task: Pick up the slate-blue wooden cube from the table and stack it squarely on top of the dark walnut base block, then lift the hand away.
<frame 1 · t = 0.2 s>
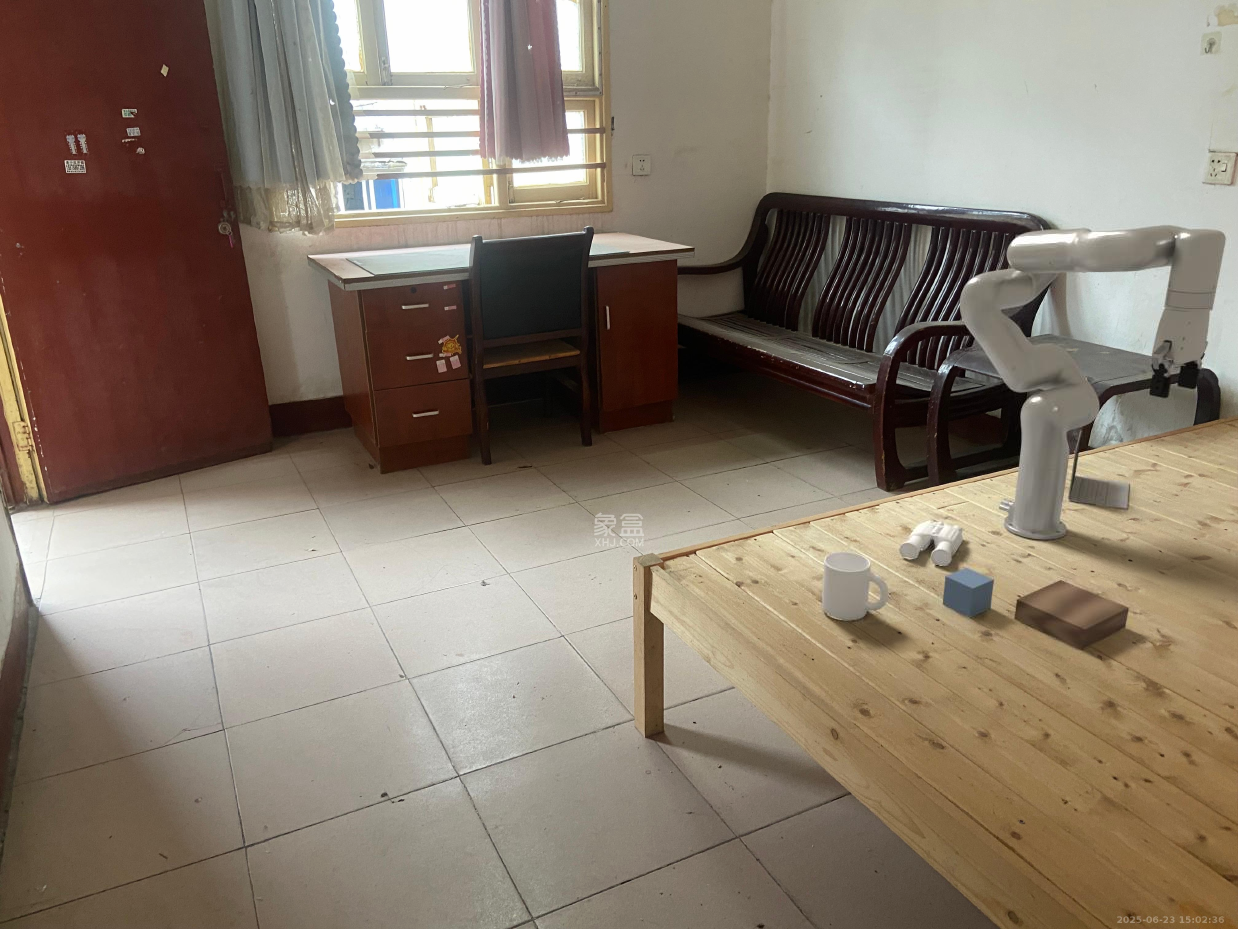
hand: (1172, 392, 169), 37 cm above the table, tool pointing down, fingers open, 9 cm apart
binoculars: (933, 551, 193), on the table
slate cube: (966, 606, 169), on the table
laptop: (1098, 494, 219), on the table
walnut base: (1069, 623, 162), on the table
mug: (853, 614, 168), on the table
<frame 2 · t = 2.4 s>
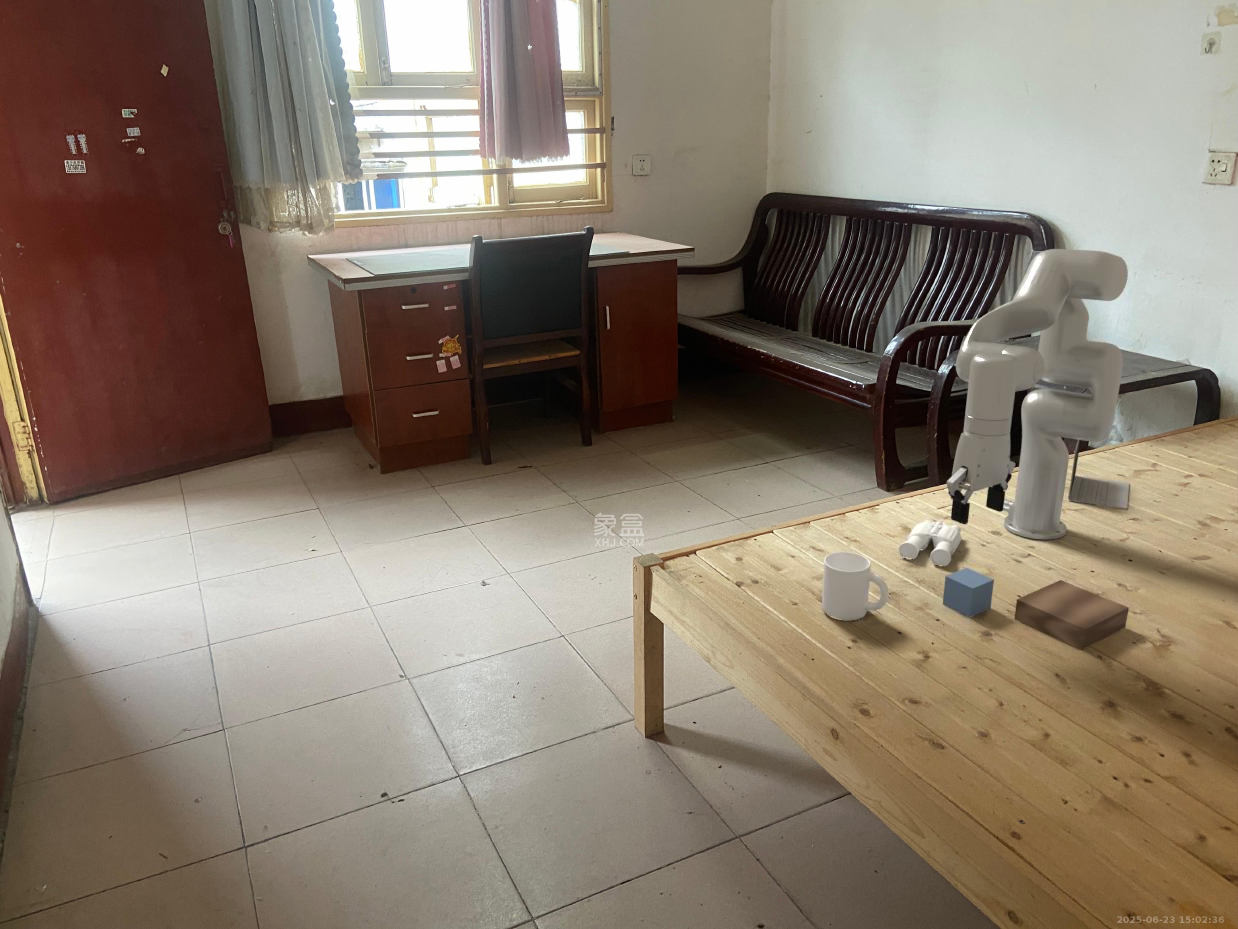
hand: (976, 515, 163), 18 cm above the table, tool pointing down, fingers open, 9 cm apart
nothing on the table moved.
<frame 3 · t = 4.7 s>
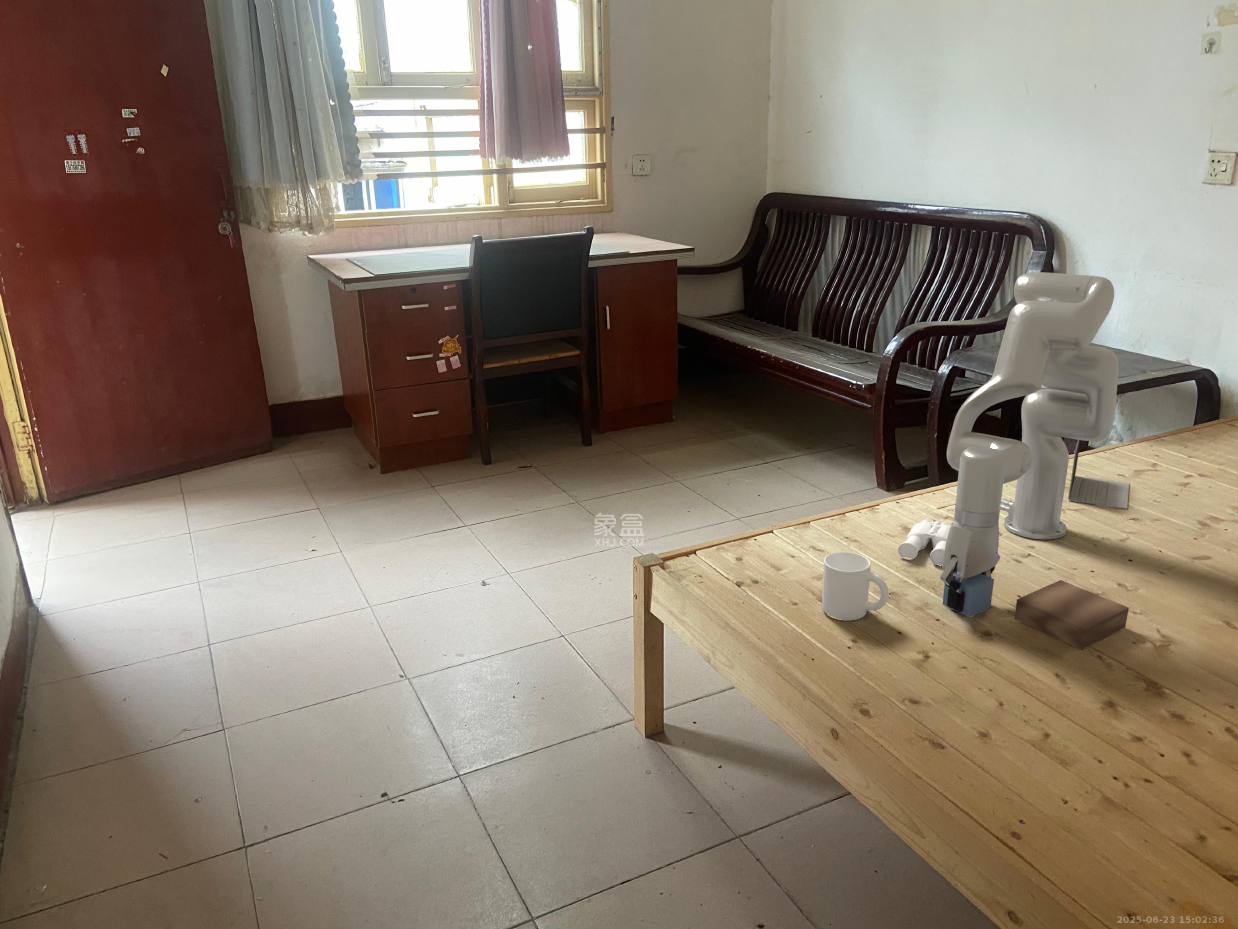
hand: (966, 602, 169), 1 cm above the table, tool pointing down, fingers closed on slate cube, 6 cm apart
slate cube: (966, 606, 169), on the table, touching gripper
everything else where it was.
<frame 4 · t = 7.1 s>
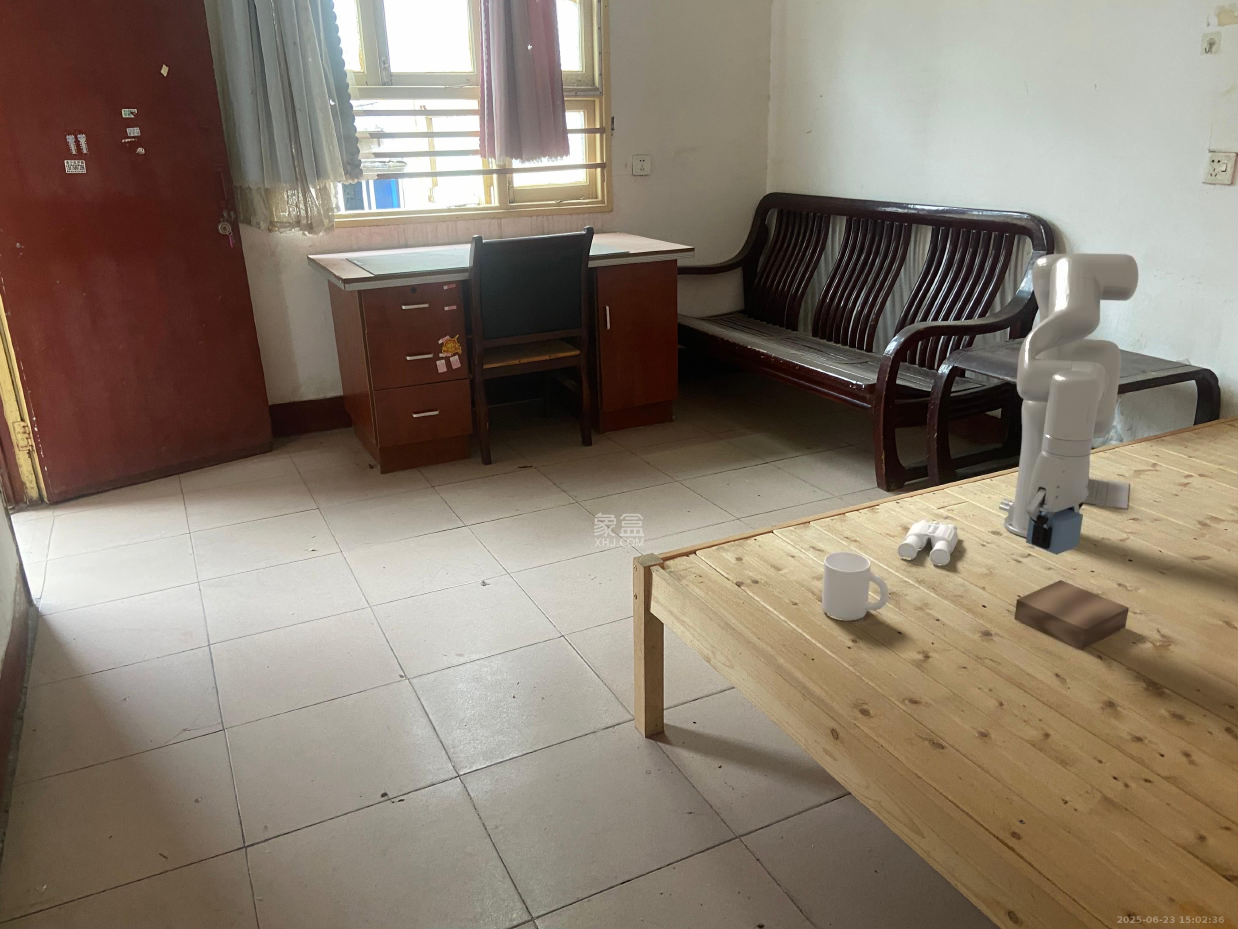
hand: (1052, 540, 159), 15 cm above the table, tool pointing down, fingers closed on slate cube, 6 cm apart
slate cube: (1051, 544, 159), point 15 cm above the table, touching gripper
everything else where it was.
when the fingers open (6 cm above the table, at t = 9.7 s): slate cube drops 1 cm, resting on walnut base.
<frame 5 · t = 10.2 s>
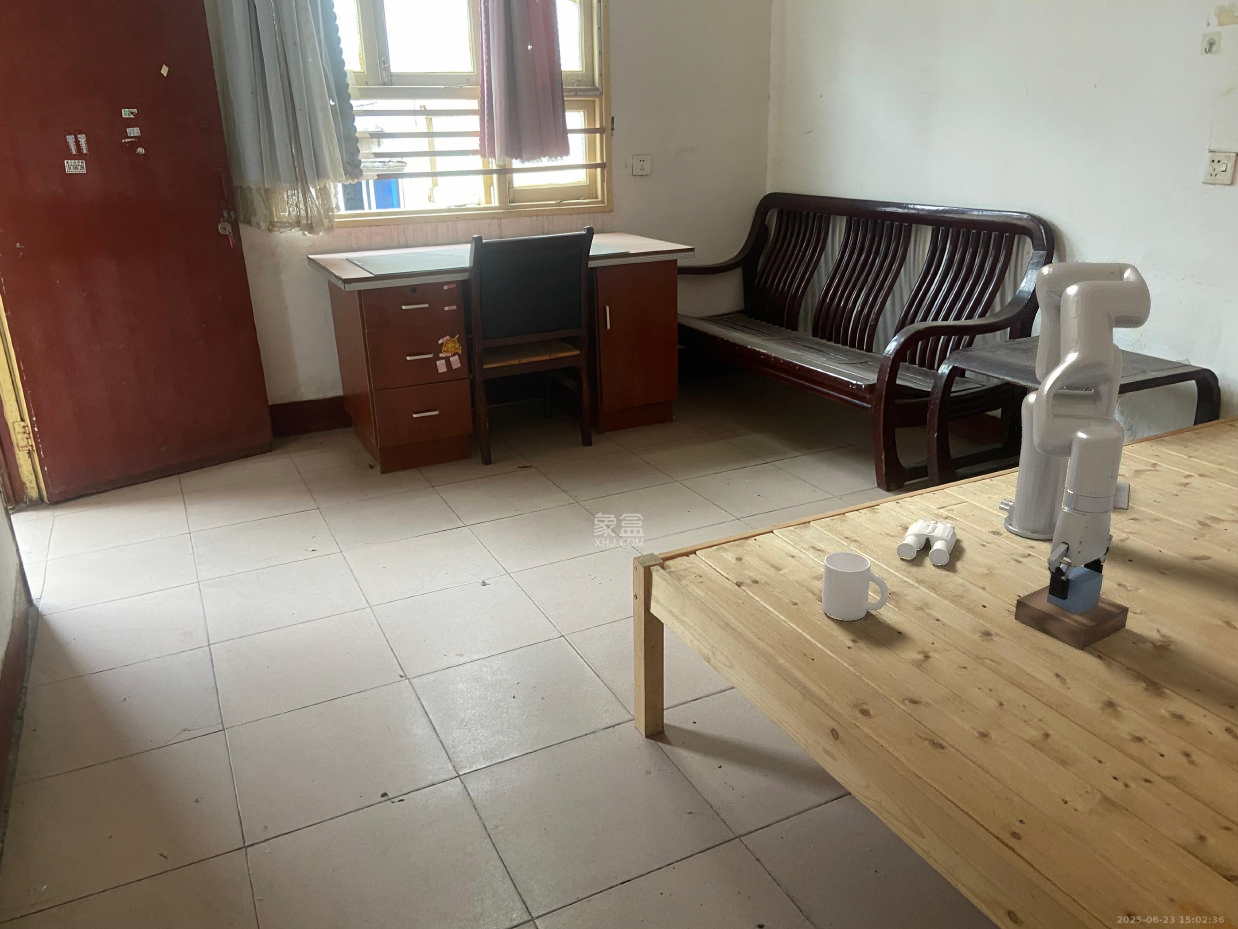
hand: (1074, 589, 160), 7 cm above the table, tool pointing down, fingers open, 9 cm apart
slate cube: (1072, 603, 161), point 4 cm above the table, touching walnut base
everything else where it was.
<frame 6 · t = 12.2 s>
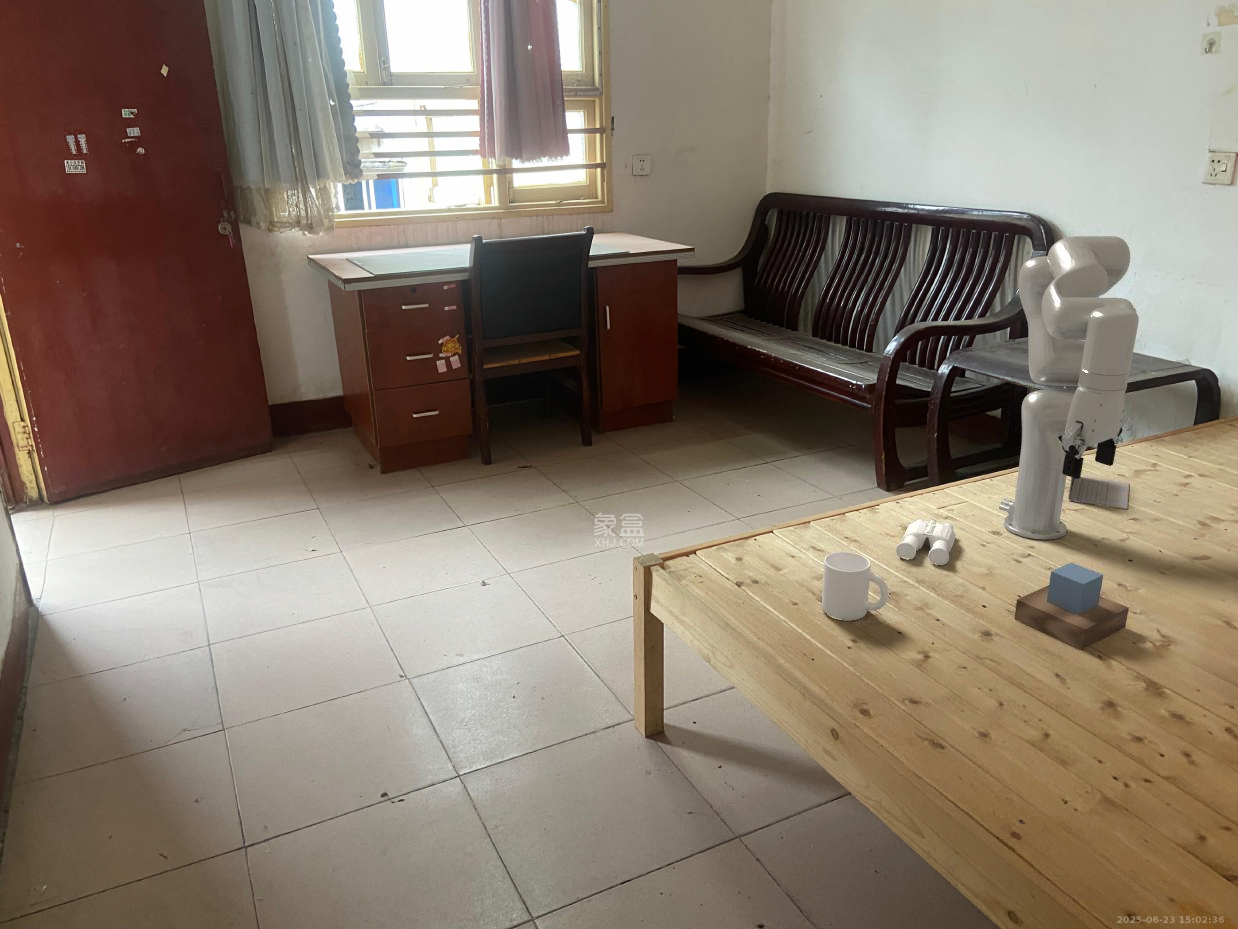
hand: (1087, 469, 164), 25 cm above the table, tool pointing down, fingers open, 9 cm apart
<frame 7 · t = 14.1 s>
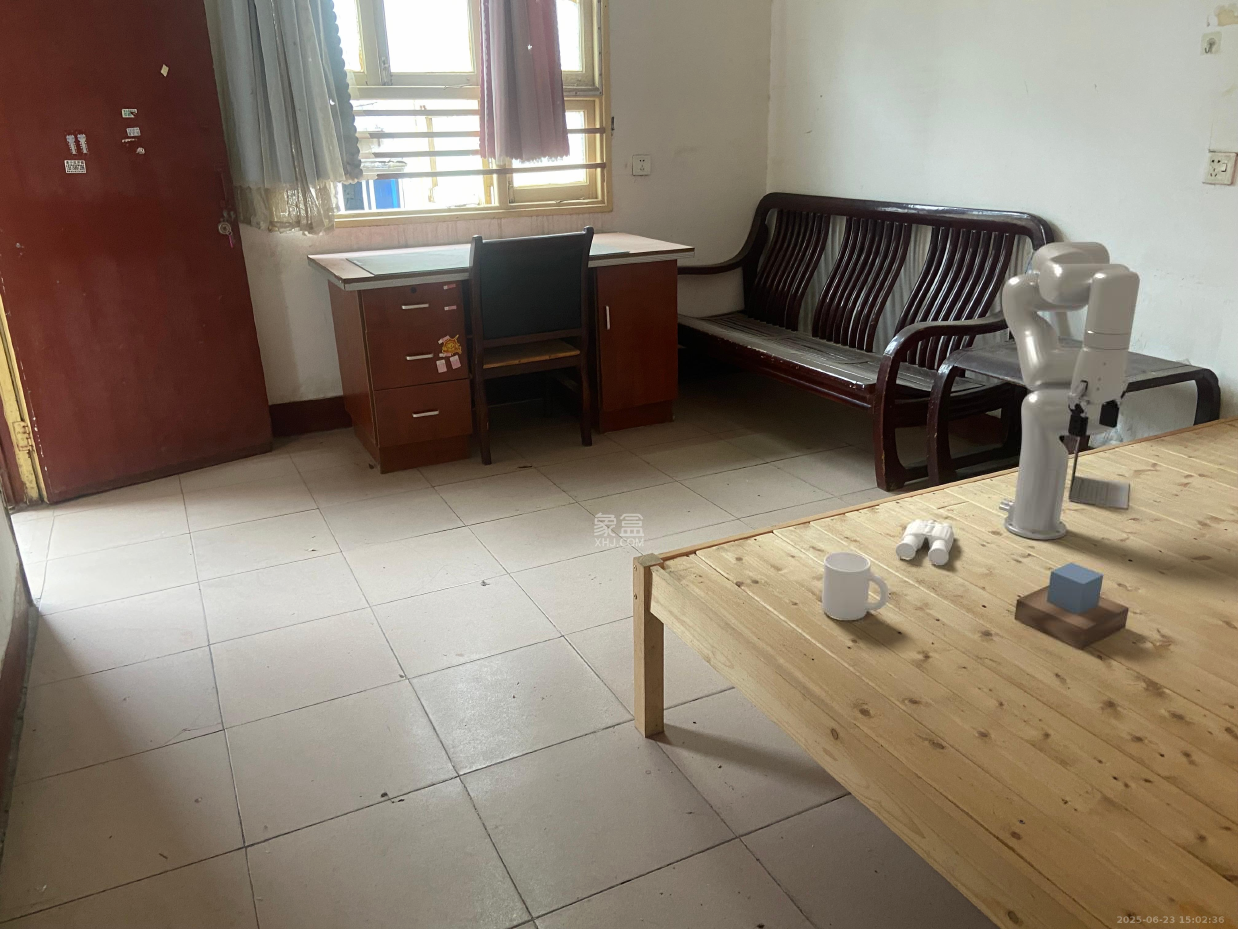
hand: (1092, 430, 169), 30 cm above the table, tool pointing down, fingers open, 9 cm apart
at the end: slate cube 0.0 cm off-centre on the walnut base, point 4.0 cm above the walnut base's base; slate cube tilted 0°; the gripper is holding nothing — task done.
